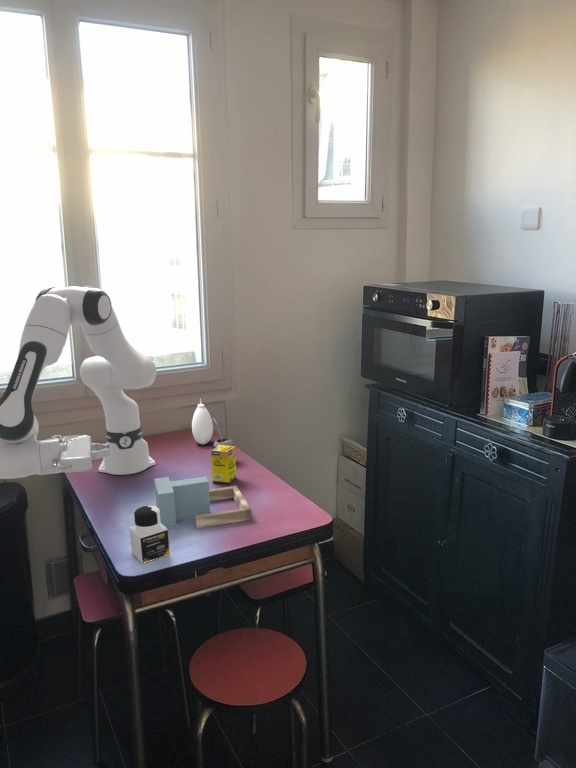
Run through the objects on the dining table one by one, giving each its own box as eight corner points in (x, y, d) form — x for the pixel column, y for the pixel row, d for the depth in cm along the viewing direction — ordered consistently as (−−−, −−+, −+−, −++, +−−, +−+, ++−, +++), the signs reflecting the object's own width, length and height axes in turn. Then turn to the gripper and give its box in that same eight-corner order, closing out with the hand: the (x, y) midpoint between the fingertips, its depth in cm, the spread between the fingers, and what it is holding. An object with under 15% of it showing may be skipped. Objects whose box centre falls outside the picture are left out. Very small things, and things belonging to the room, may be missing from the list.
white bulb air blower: (212, 446, 233) (209, 400, 229) (191, 447, 233) (188, 400, 229) (214, 440, 240) (212, 394, 236) (194, 440, 240) (191, 395, 236)
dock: (186, 502, 183) (186, 493, 182) (236, 495, 187) (236, 485, 187) (196, 528, 166) (196, 518, 166) (251, 519, 171) (250, 509, 170)
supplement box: (229, 485, 195) (227, 451, 193) (212, 483, 197) (210, 450, 195) (237, 478, 201) (235, 445, 199) (220, 476, 203) (218, 444, 200)
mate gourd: (231, 466, 212) (229, 423, 208) (209, 465, 213) (206, 423, 210) (237, 458, 219) (234, 417, 216) (215, 458, 220) (212, 417, 217)
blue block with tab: (156, 511, 178) (154, 478, 176) (205, 504, 182) (203, 471, 179) (161, 529, 167) (158, 494, 164) (213, 521, 171) (211, 486, 168)
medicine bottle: (142, 564, 148) (138, 517, 146) (131, 553, 154) (126, 508, 151) (170, 555, 152) (166, 509, 150) (158, 544, 158) (154, 500, 155)
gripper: (50, 457, 150) (109, 449, 154) (54, 433, 169) (107, 427, 173) (53, 481, 151) (112, 474, 155) (57, 455, 170) (109, 449, 174)
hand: (109, 449), depth 164 cm, fingers open, 3 cm apart
